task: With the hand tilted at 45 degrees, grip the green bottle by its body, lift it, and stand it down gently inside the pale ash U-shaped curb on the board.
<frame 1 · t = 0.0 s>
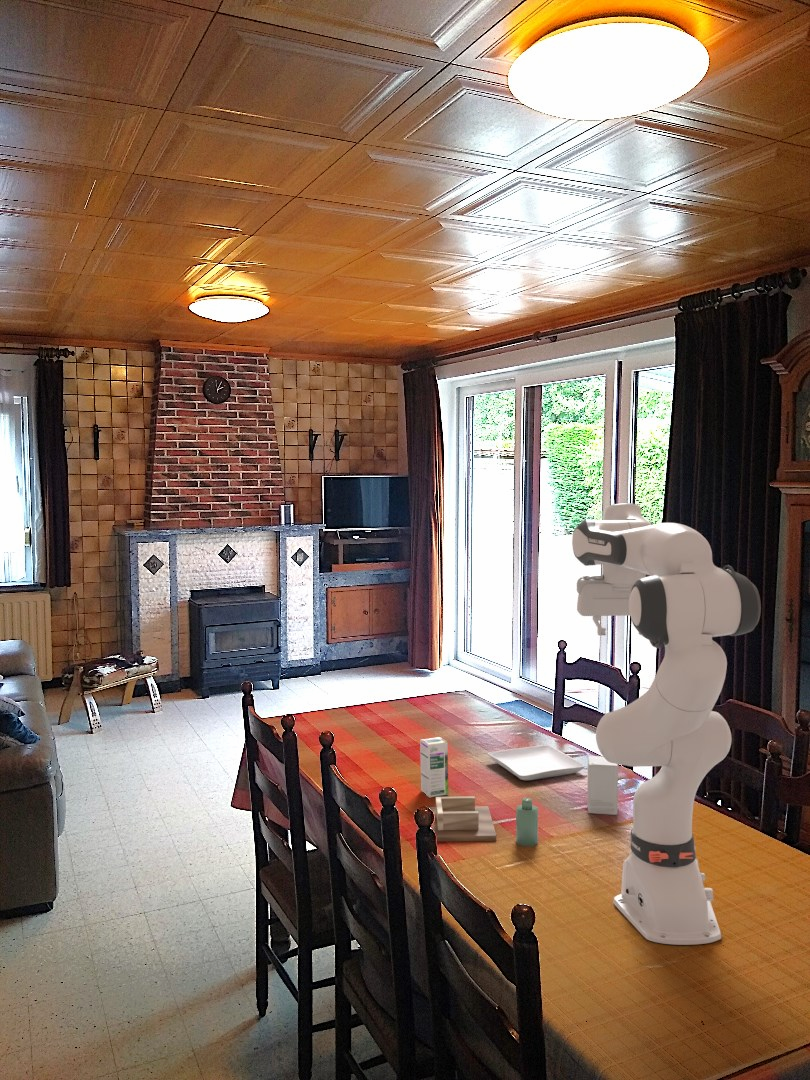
hand: (622, 634, 198), 48 cm above the table, fingers open, 8 cm apart
syrup box: (434, 793, 232), on the table
salad plate: (535, 770, 251), on the table
green bottle: (527, 841, 201), on the table
supplement box: (602, 809, 220), on the table
u rest: (459, 825, 210), on the table
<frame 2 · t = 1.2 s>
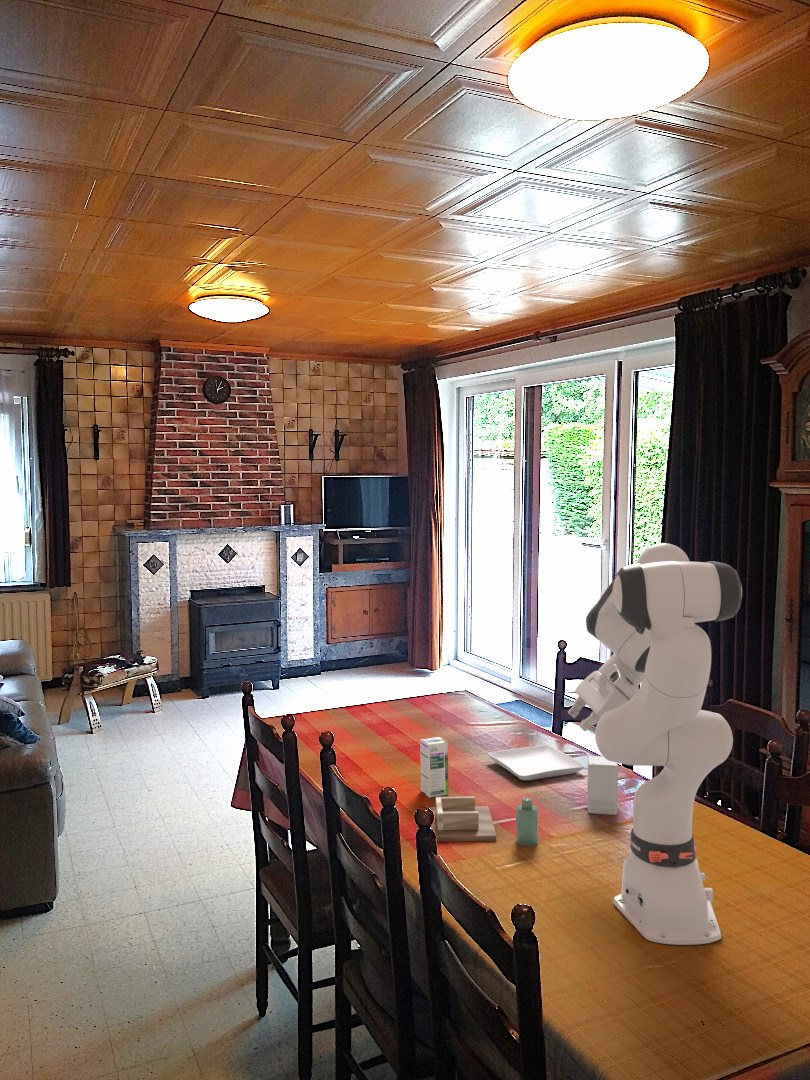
hand: (576, 721, 199), 28 cm above the table, fingers open, 8 cm apart
nothing on the table moved.
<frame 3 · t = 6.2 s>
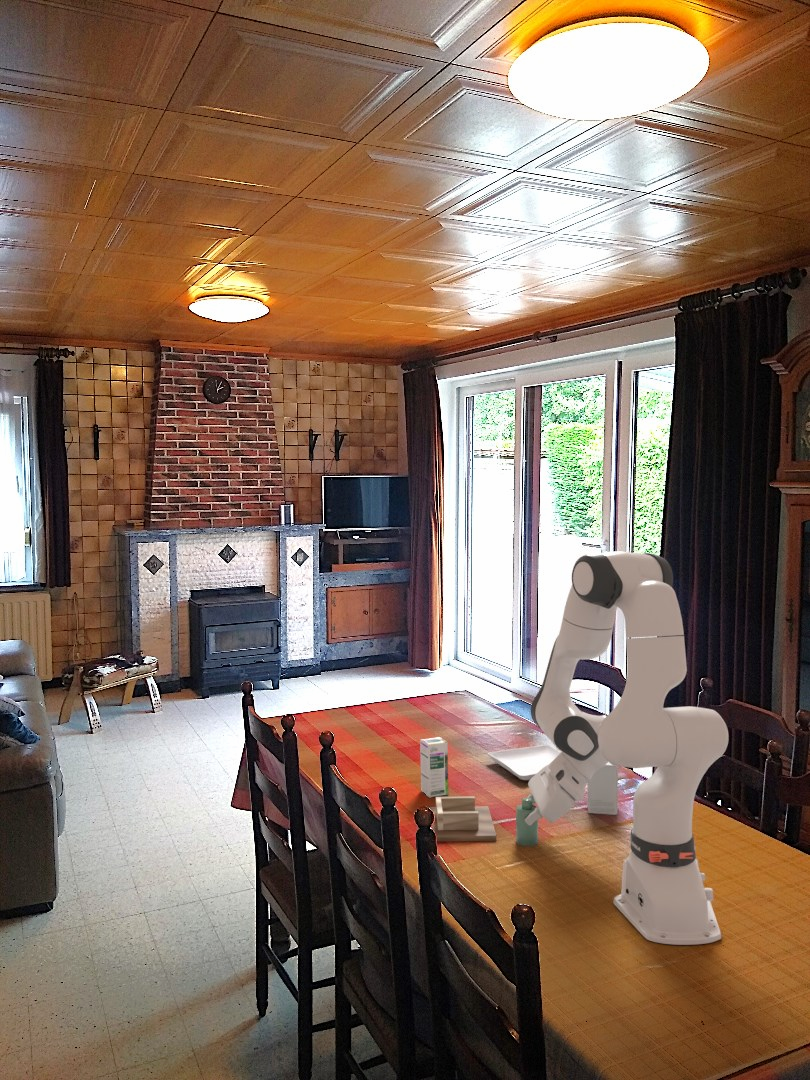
hand: (524, 817, 200), 6 cm above the table, fingers closed on green bottle, 5 cm apart
green bottle: (527, 841, 201), on the table, touching gripper
everything else where it was.
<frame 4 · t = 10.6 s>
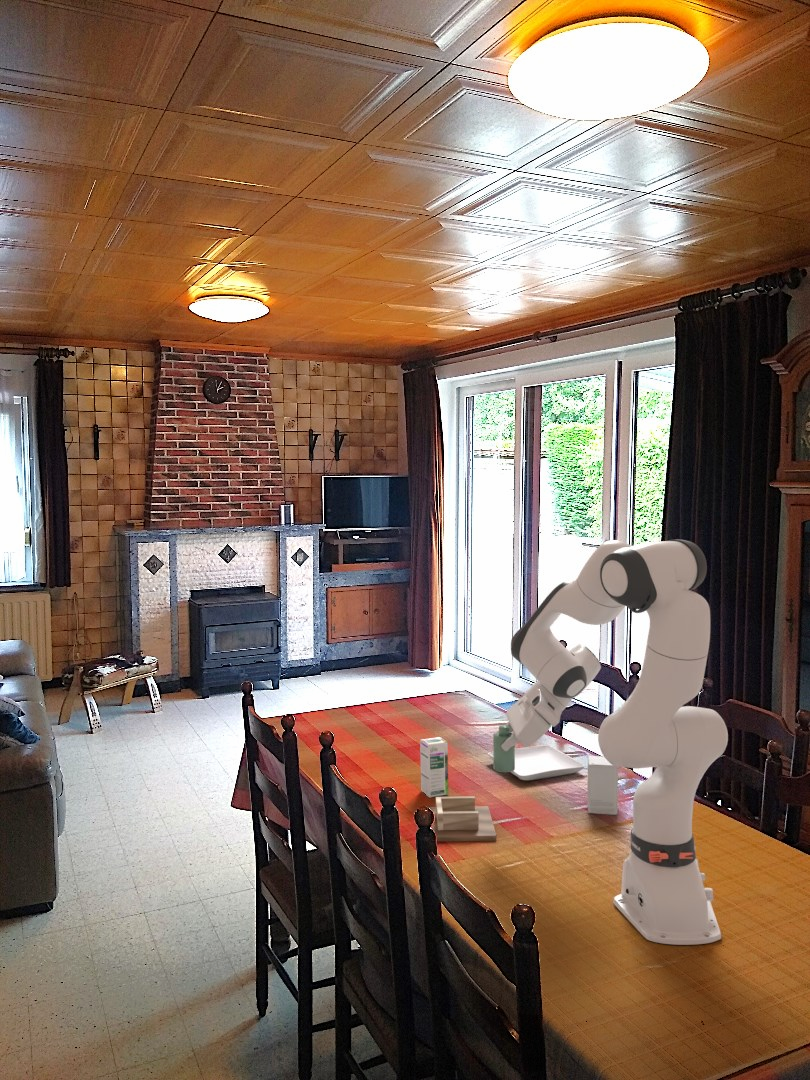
hand: (501, 743, 203), 22 cm above the table, fingers closed on green bottle, 5 cm apart
green bottle: (504, 768, 203), point 16 cm above the table, touching gripper
everything else where it was.
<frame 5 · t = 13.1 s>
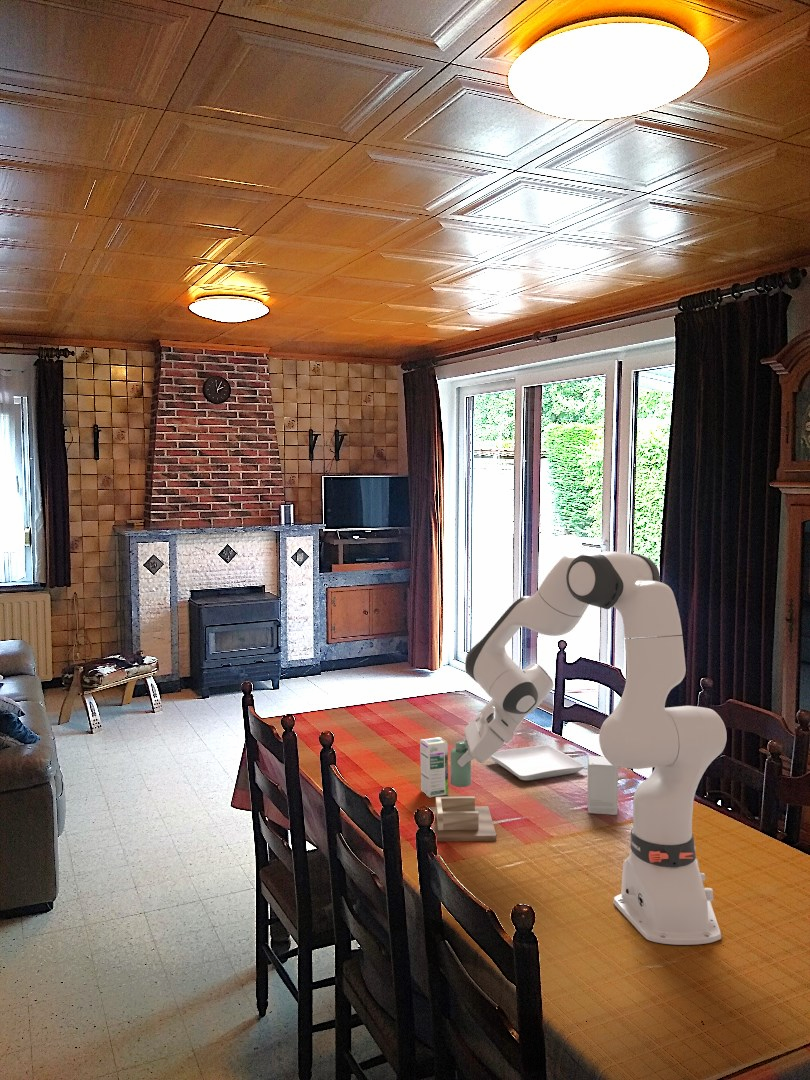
hand: (458, 759, 209), 16 cm above the table, fingers closed on green bottle, 5 cm apart
green bottle: (460, 783, 210), point 10 cm above the table, touching gripper
everything else where it was.
when the fingers open (9 cm above the table, at t = 15.2 s): green bottle drops 1 cm, resting on u rest.
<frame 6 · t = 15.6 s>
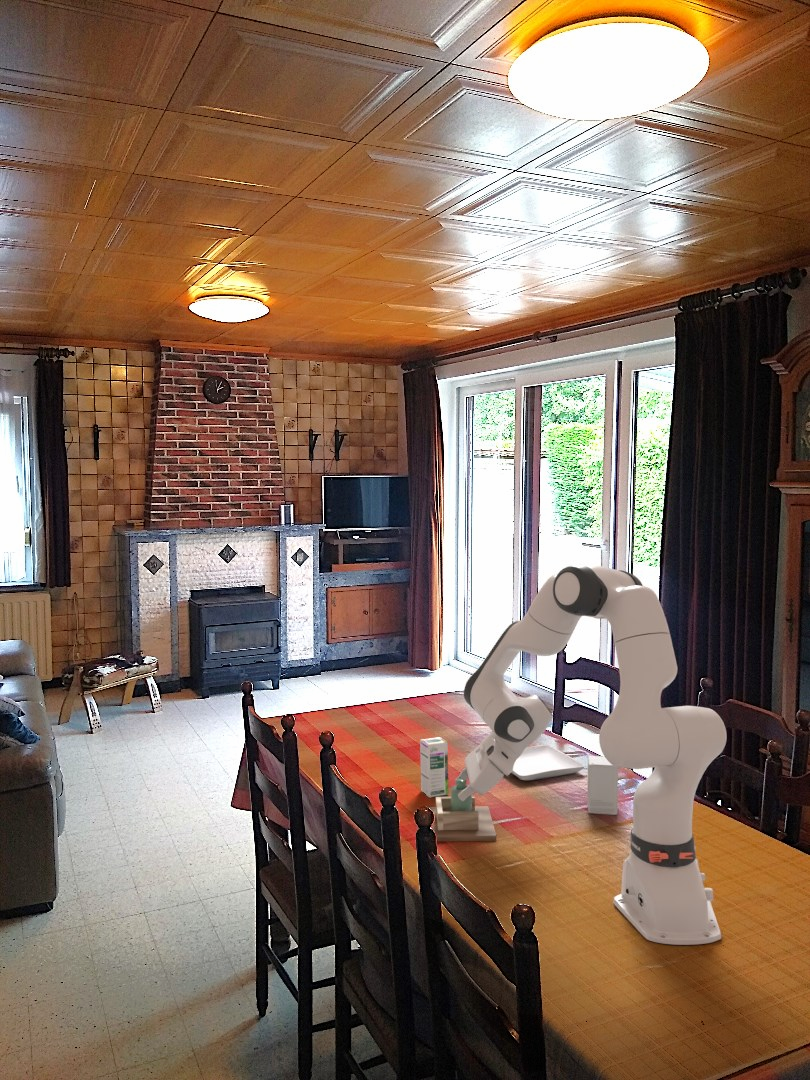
hand: (458, 791, 210), 9 cm above the table, fingers open, 8 cm apart
green bottle: (461, 820, 210), point 1 cm above the table, touching u rest
everything else where it was.
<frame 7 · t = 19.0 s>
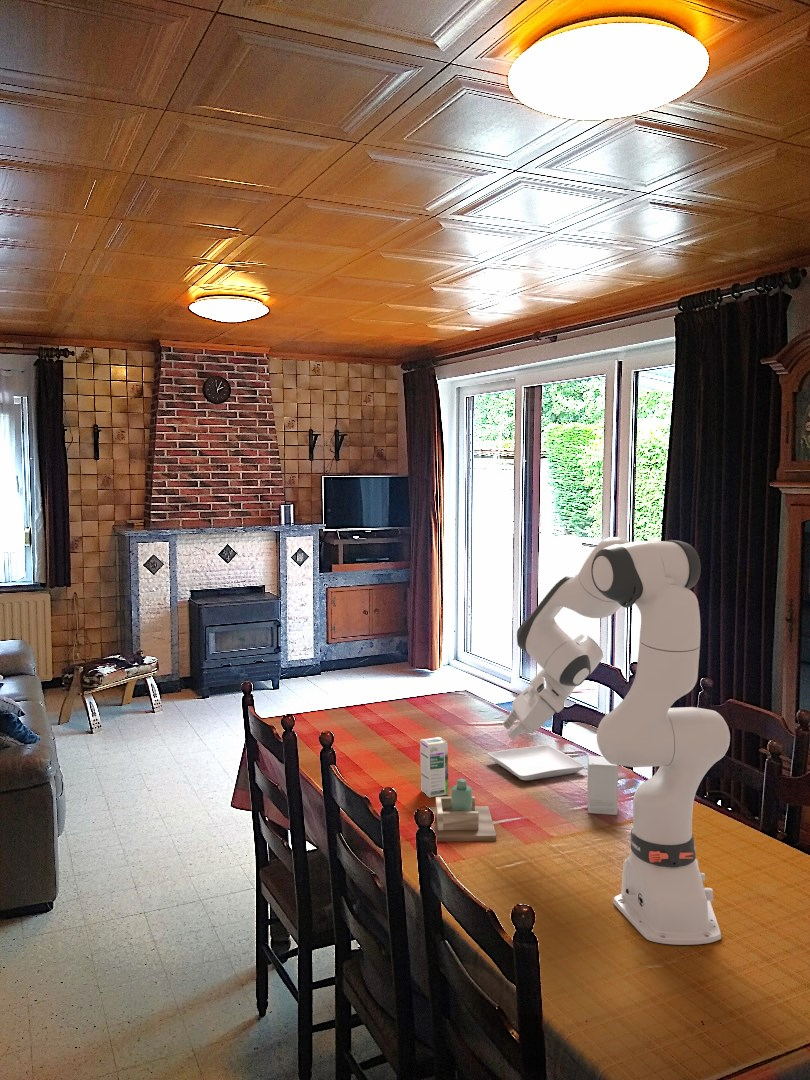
hand: (507, 731, 209), 23 cm above the table, fingers open, 8 cm apart
nothing on the table moved.
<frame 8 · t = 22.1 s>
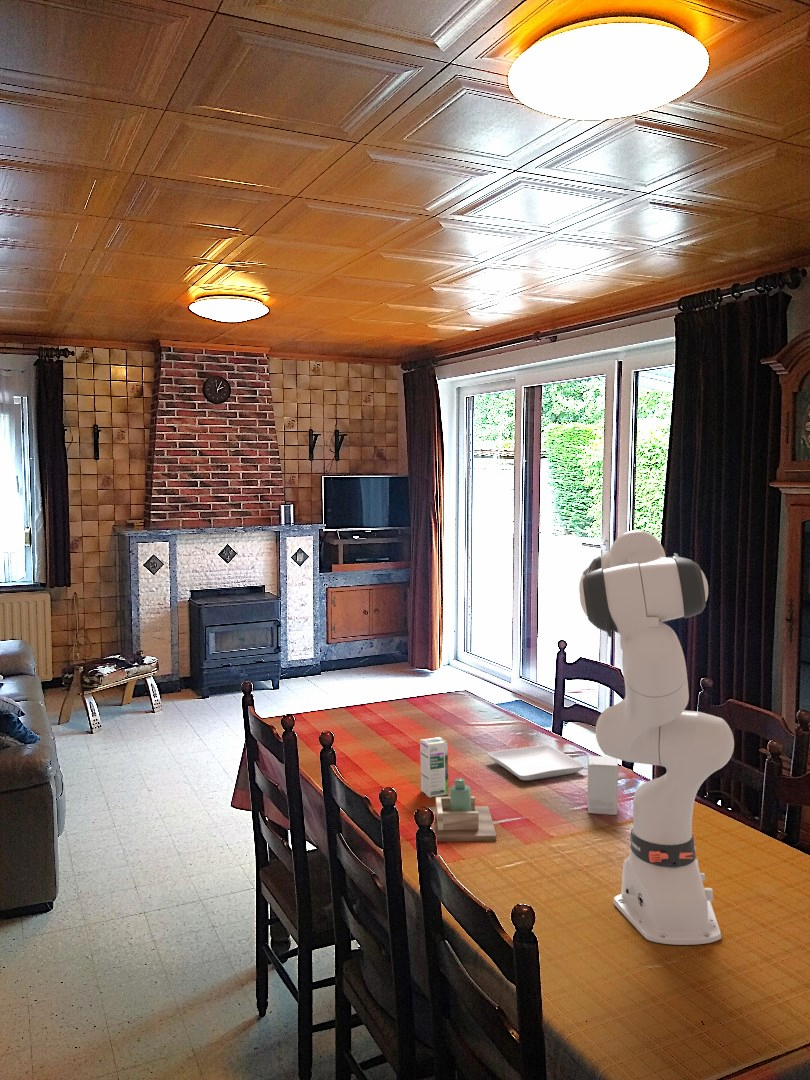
hand: (638, 676, 203), 37 cm above the table, fingers open, 8 cm apart
nothing on the table moved.
at the end: green bottle 0.3 cm off-centre on the u rest, point 1.3 cm above the u rest's base; green bottle tilted 2°; the gripper is holding nothing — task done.
